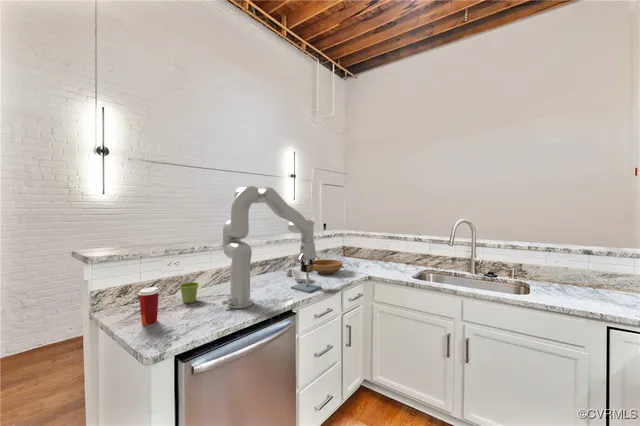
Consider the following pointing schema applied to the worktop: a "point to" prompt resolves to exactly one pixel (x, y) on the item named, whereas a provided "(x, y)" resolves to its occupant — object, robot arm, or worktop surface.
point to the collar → (309, 268)
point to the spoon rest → (297, 275)
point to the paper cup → (149, 305)
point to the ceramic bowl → (327, 266)
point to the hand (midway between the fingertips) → (307, 269)
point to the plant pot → (189, 291)
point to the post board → (306, 286)
